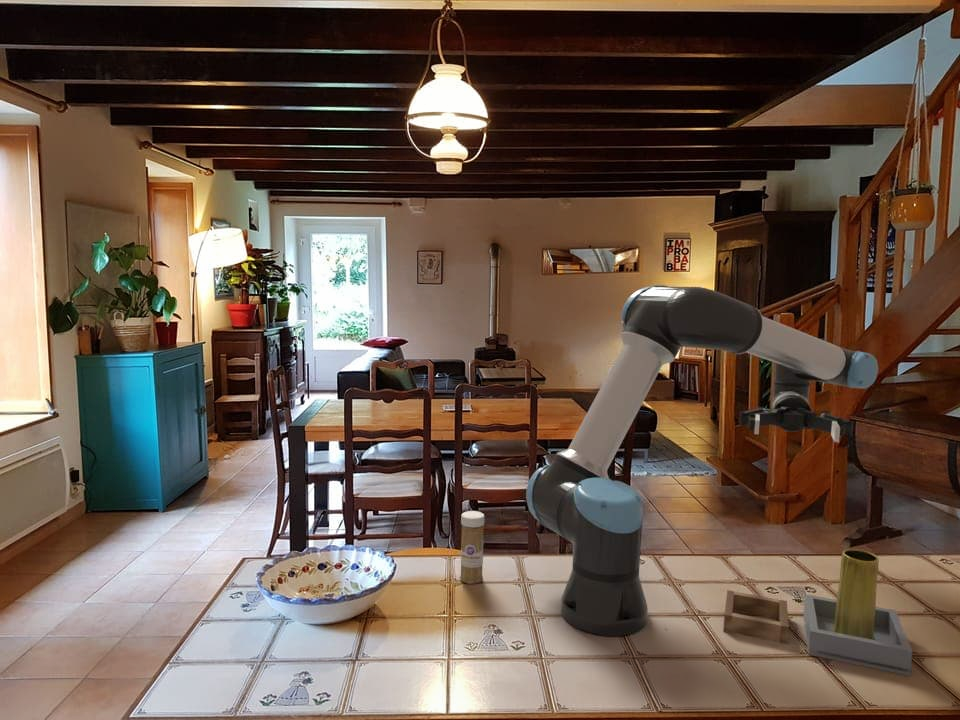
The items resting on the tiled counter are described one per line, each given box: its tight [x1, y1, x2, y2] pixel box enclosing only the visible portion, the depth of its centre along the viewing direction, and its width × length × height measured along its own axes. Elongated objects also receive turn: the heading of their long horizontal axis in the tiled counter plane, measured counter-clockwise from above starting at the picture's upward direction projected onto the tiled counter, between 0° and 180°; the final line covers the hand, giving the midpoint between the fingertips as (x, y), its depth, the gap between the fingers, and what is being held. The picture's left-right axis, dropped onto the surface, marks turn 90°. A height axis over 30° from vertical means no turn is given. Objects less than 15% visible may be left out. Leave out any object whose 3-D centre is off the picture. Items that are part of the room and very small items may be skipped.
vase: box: [833, 548, 880, 640], centre depth 110 cm, size 6×6×14 cm
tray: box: [803, 593, 913, 676], centre depth 111 cm, size 14×14×4 cm
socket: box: [723, 589, 790, 645], centre depth 117 cm, size 10×10×3 cm
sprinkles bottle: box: [459, 510, 485, 585], centre depth 131 cm, size 5×5×14 cm
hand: (796, 431), depth 125 cm, fingers open, 13 cm apart
